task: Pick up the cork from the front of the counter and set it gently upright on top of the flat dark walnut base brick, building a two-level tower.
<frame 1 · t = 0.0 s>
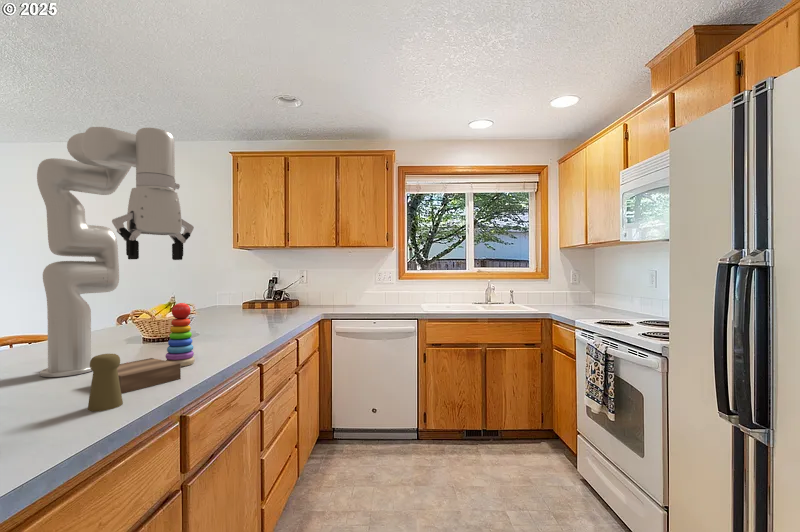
hand: (156, 259, 90), 31 cm above the table, fingers open, 9 cm apart
cork: (105, 407, 83), on the table
stacking toy: (180, 365, 120), on the table
walnut base brick: (138, 381, 101), on the table
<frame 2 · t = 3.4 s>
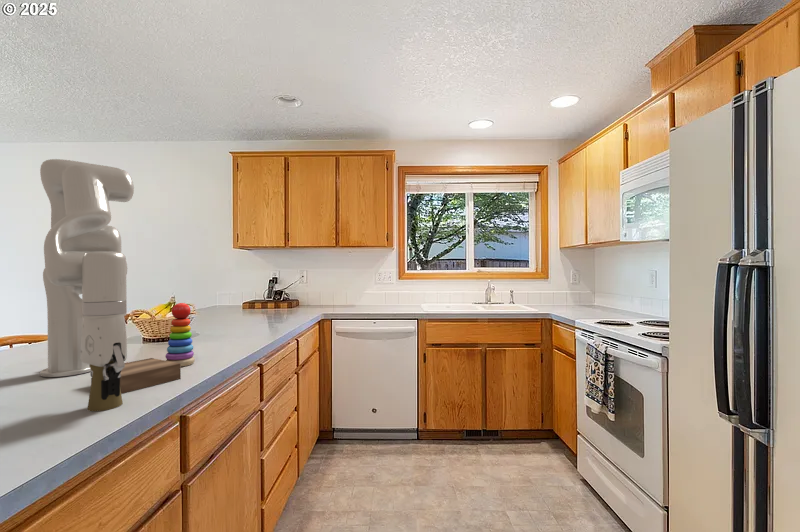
hand: (105, 395, 83), 2 cm above the table, fingers closed on cork, 3 cm apart
cork: (105, 407, 83), on the table, touching gripper
everything else where it was.
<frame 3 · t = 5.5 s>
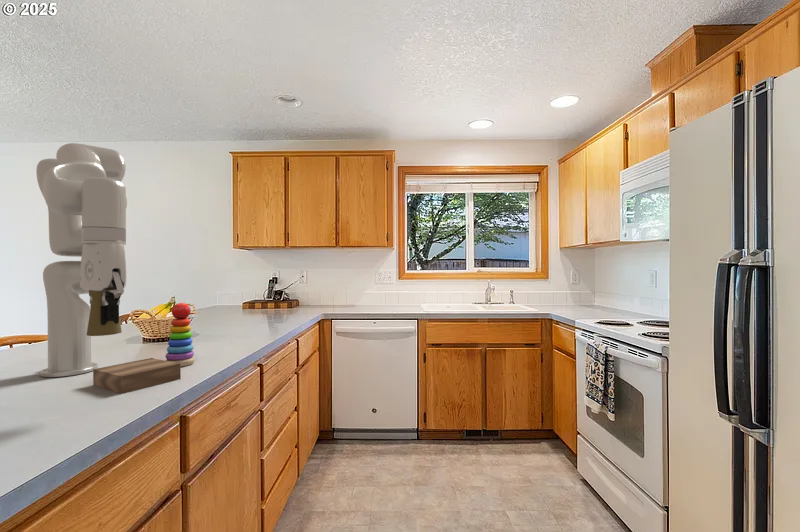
hand: (104, 322, 84), 18 cm above the table, fingers closed on cork, 3 cm apart
cork: (104, 334, 84), point 15 cm above the table, touching gripper
everything else where it was.
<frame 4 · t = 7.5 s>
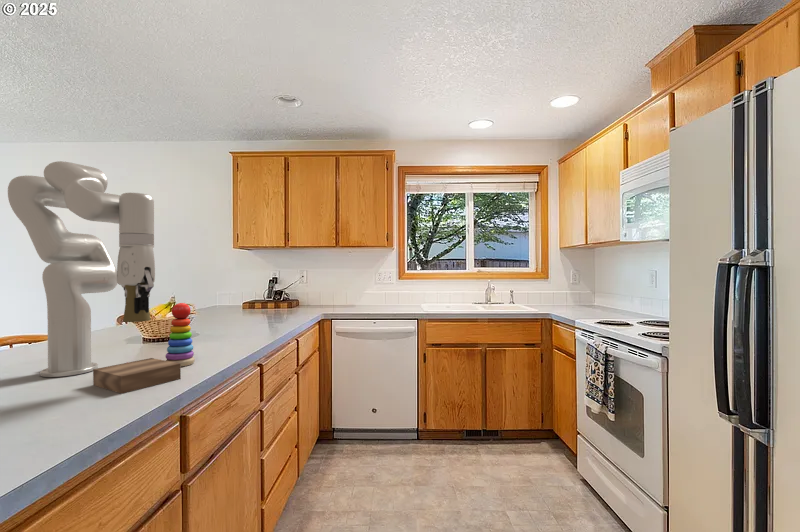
hand: (137, 311, 102), 18 cm above the table, fingers closed on cork, 3 cm apart
cork: (137, 321, 102), point 16 cm above the table, touching gripper
everything else where it was.
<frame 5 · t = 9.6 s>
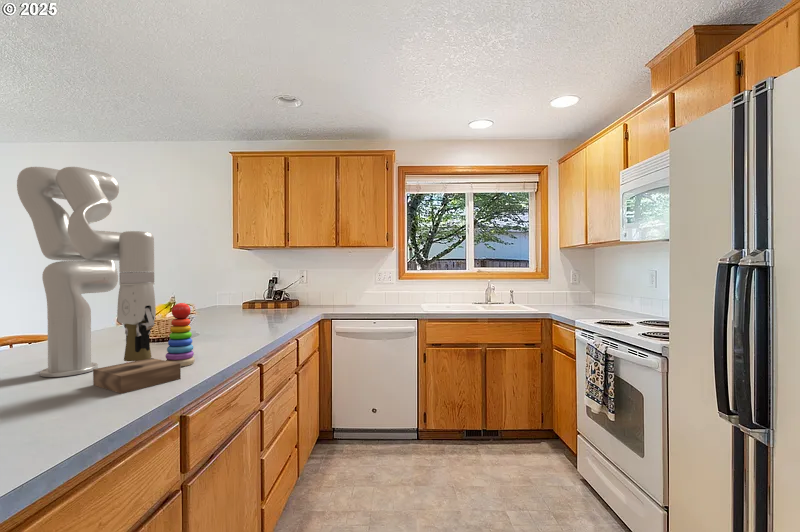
hand: (137, 349, 101), 8 cm above the table, fingers closed on cork, 3 cm apart
cork: (137, 359, 102), point 6 cm above the table, touching gripper
everything else where it was.
when the fingers open (7 cm above the table, at t = 11.5 s): cork stays where it is, resting on walnut base brick.
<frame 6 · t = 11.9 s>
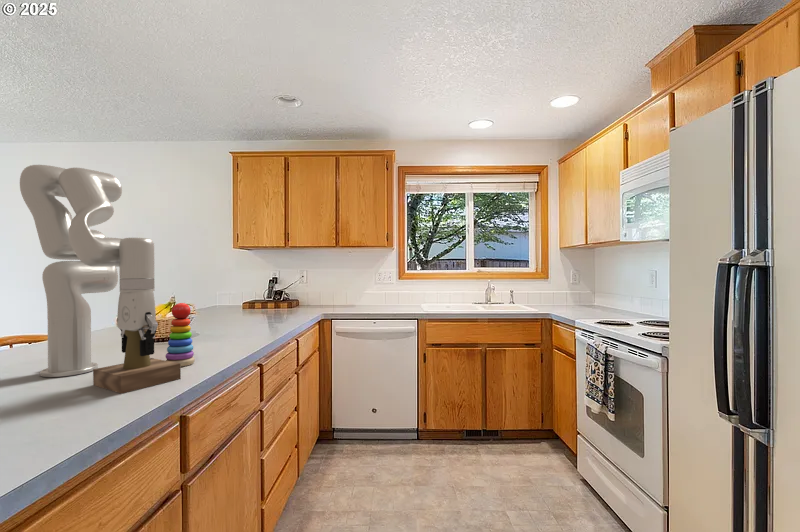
hand: (137, 353, 101), 7 cm above the table, fingers open, 8 cm apart
cork: (137, 366, 102), point 4 cm above the table, touching walnut base brick
everything else where it was.
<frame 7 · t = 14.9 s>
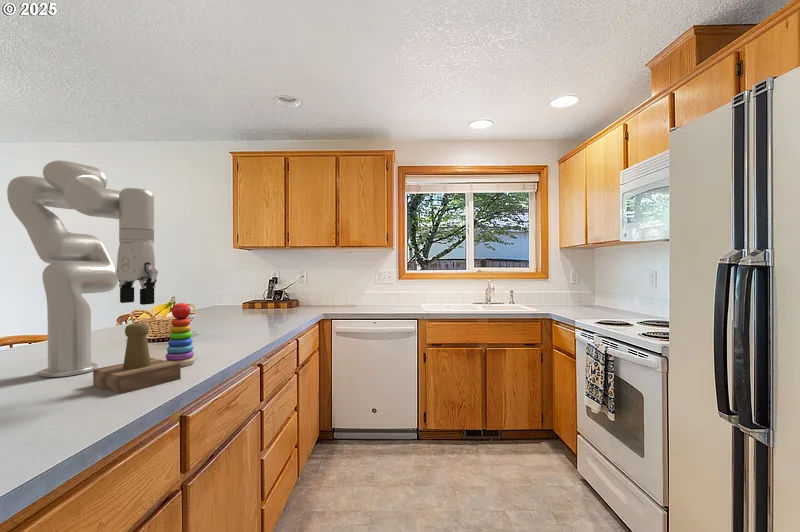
hand: (136, 303, 102), 20 cm above the table, fingers open, 9 cm apart
nothing on the table moved.
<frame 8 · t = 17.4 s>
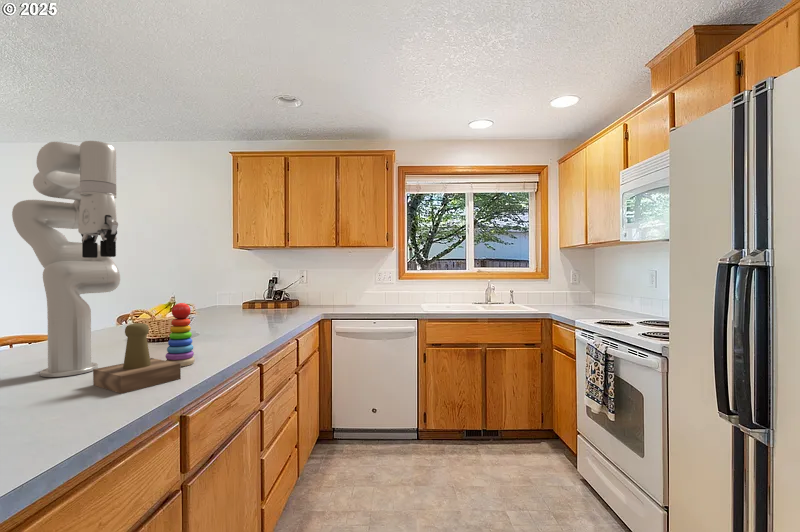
hand: (98, 257, 102), 32 cm above the table, fingers open, 9 cm apart
nothing on the table moved.
at the end: cork inside the target area on the walnut base brick (0.4 cm from its centre), point 3.8 cm above the walnut base brick's base; cork tilted 0°; the gripper is holding nothing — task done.
